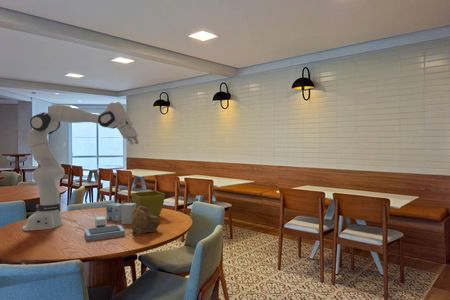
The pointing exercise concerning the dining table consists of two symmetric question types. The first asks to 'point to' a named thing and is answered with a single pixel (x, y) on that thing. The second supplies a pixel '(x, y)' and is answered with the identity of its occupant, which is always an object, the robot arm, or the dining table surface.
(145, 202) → the flower pot
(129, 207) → the supplement box
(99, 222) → the block
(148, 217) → the rough brown rock
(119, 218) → the light bulb box
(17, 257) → the dining table surface
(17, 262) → the dining table surface
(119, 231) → the grey shallow rectangular tray
